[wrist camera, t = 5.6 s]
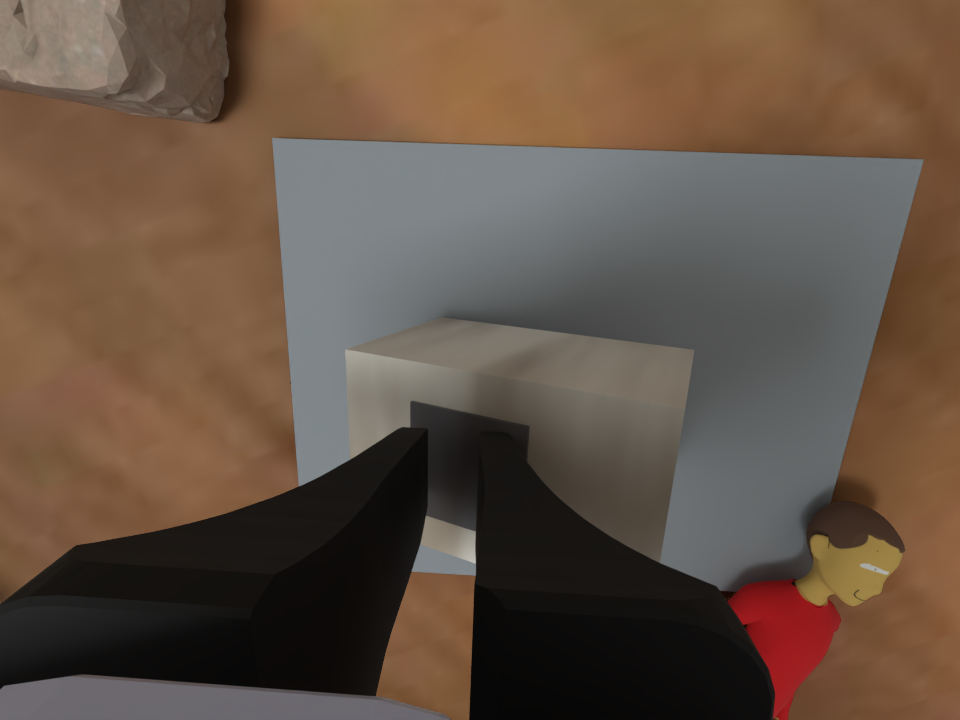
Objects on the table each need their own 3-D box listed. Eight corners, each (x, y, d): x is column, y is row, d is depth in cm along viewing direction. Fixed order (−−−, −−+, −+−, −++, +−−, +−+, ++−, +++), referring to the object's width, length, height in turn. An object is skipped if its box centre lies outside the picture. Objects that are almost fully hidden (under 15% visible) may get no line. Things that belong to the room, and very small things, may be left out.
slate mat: (800, 590, 19) (805, 595, 19) (307, 559, 20) (304, 564, 20) (915, 160, 15) (924, 159, 15) (276, 139, 15) (272, 138, 15)
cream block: (440, 449, 18) (668, 507, 15) (350, 522, 13) (649, 628, 10) (442, 317, 17) (694, 349, 13) (342, 350, 12) (685, 410, 9)
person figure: (611, 914, 19) (907, 561, 13) (570, 792, 22) (790, 473, 17) (708, 895, 20) (1001, 578, 15) (655, 784, 24) (878, 495, 18)
